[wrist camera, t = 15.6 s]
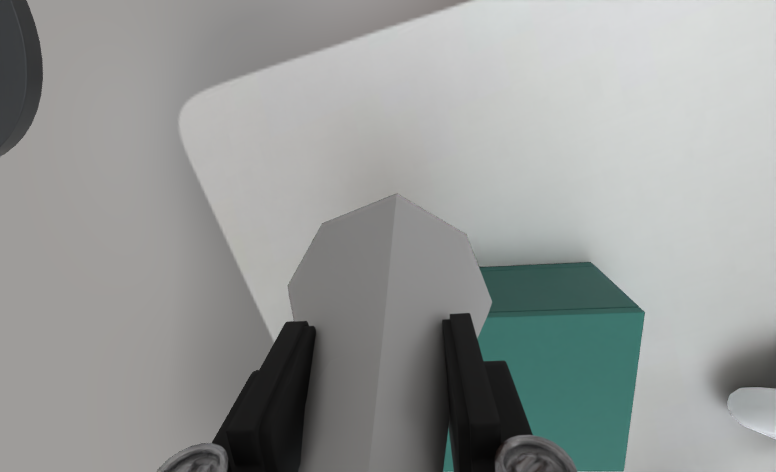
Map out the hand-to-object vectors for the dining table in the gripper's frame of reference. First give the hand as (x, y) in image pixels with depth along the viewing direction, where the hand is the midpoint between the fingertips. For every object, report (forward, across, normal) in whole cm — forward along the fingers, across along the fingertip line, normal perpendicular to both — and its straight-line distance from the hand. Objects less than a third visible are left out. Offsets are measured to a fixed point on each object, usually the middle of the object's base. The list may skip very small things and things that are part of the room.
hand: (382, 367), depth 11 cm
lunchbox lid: (+12, -5, +11) cm, 17 cm away
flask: (+5, 0, 0) cm, 5 cm away
